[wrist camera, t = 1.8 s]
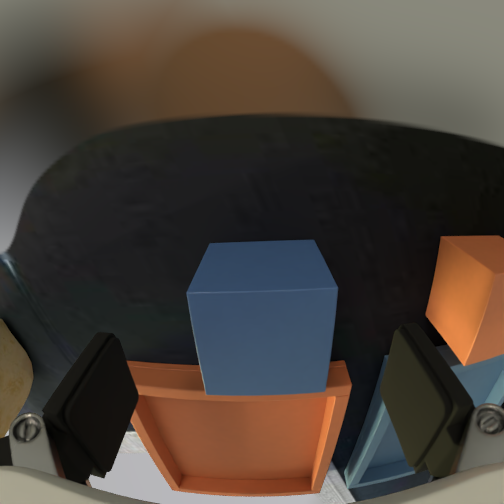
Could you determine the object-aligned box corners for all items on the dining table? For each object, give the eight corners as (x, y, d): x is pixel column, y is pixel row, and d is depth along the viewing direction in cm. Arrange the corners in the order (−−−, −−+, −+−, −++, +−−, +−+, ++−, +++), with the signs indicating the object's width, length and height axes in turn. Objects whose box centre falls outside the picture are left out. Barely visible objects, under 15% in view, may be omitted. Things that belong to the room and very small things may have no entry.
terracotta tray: (123, 359, 16) (111, 382, 14) (344, 359, 15) (352, 385, 13) (176, 473, 21) (172, 490, 19) (317, 475, 20) (319, 493, 18)
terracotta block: (440, 236, 12) (495, 274, 8) (498, 235, 12) (550, 266, 8) (424, 315, 14) (463, 366, 10) (481, 306, 14) (522, 347, 10)
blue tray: (384, 355, 15) (395, 378, 13) (522, 324, 14) (536, 338, 13) (343, 471, 20) (347, 489, 18) (458, 441, 20) (465, 455, 18)
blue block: (209, 242, 13) (186, 292, 9) (314, 239, 13) (338, 287, 9) (219, 329, 15) (205, 395, 10) (310, 326, 14) (325, 392, 10)
